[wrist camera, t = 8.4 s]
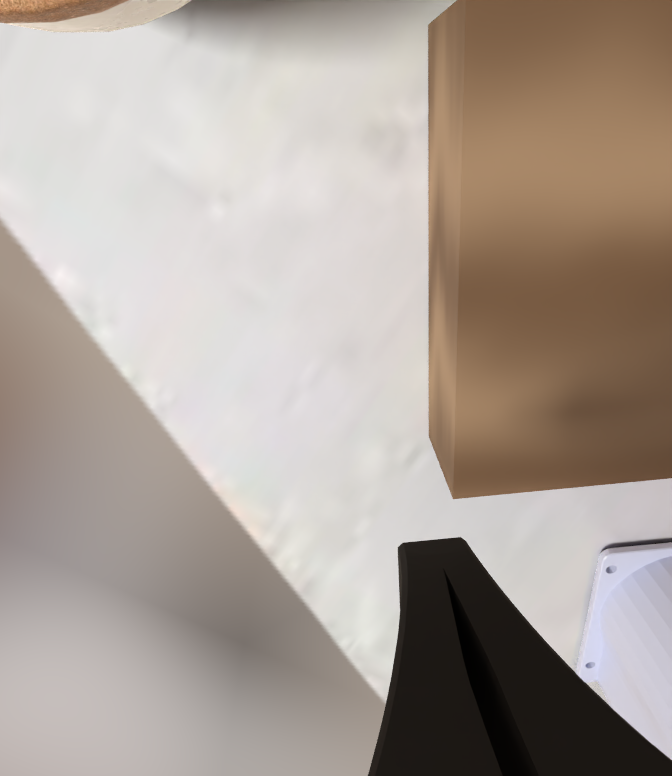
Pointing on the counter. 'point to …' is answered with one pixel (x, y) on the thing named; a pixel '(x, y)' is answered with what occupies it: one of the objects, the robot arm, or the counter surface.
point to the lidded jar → (84, 13)
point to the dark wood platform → (550, 243)
